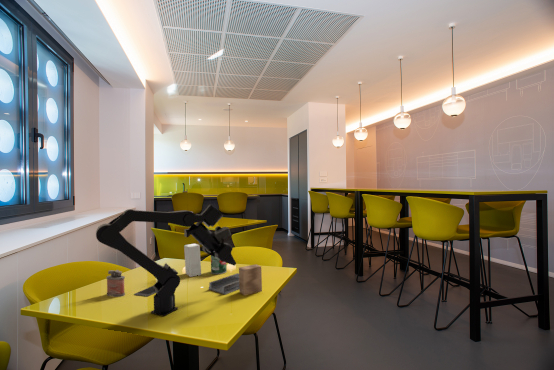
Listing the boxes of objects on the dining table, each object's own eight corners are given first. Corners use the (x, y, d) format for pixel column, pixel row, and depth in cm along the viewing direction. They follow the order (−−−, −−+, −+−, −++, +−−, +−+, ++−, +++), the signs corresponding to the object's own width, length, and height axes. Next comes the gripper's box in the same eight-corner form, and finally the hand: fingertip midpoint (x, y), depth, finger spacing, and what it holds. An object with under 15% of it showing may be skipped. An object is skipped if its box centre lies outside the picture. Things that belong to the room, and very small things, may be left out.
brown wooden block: (244, 295, 112) (243, 269, 113) (239, 292, 116) (238, 267, 116) (261, 291, 117) (261, 266, 117) (256, 288, 120) (256, 264, 121)
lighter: (127, 294, 117) (126, 269, 118) (120, 297, 114) (120, 272, 114) (111, 292, 120) (110, 268, 120) (104, 295, 116) (104, 271, 116)
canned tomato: (211, 270, 149) (210, 249, 149) (226, 269, 150) (226, 248, 151) (210, 274, 141) (210, 252, 141) (226, 273, 143) (226, 251, 143)
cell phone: (133, 295, 116) (133, 294, 116) (158, 284, 129) (158, 283, 129) (147, 297, 114) (147, 295, 114) (171, 286, 127) (171, 284, 127)
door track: (225, 294, 114) (224, 287, 114) (208, 289, 120) (208, 282, 120) (252, 283, 126) (252, 276, 126) (236, 279, 133) (236, 273, 133)
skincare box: (201, 275, 141) (200, 245, 141) (189, 277, 138) (188, 246, 138) (196, 271, 148) (195, 242, 148) (184, 273, 145) (183, 244, 145)
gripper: (228, 222, 103) (254, 250, 109) (210, 218, 119) (234, 243, 124) (206, 246, 98) (235, 273, 104) (191, 239, 114) (216, 263, 120)
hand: (230, 262), depth 113 cm, fingers open, 9 cm apart
